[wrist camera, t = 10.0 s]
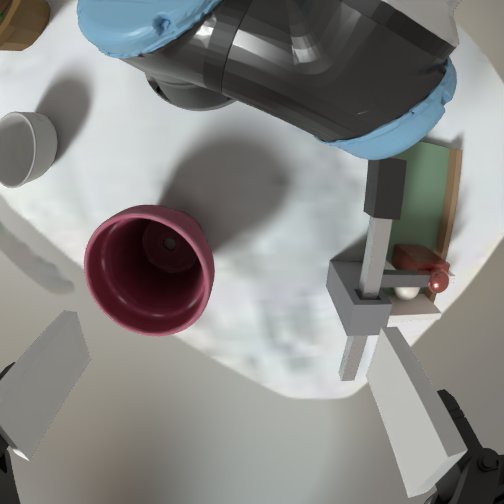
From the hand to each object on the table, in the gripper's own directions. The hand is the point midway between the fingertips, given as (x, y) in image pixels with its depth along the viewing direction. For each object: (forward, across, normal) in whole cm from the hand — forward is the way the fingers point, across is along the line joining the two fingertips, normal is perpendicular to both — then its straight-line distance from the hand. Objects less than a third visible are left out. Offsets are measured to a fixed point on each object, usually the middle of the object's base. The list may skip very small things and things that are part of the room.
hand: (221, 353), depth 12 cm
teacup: (+29, -34, +10) cm, 46 cm away
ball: (+25, +23, -9) cm, 35 cm away
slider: (+27, +19, -6) cm, 33 cm away
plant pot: (+29, -10, -5) cm, 31 cm away
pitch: (+29, +20, -1) cm, 35 cm away
